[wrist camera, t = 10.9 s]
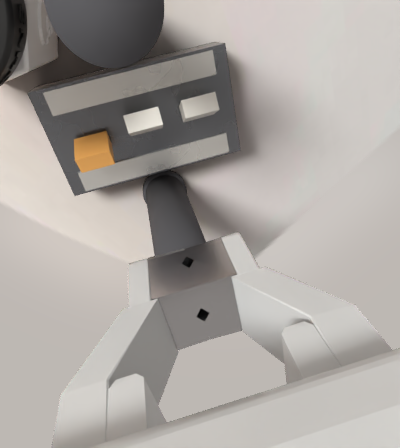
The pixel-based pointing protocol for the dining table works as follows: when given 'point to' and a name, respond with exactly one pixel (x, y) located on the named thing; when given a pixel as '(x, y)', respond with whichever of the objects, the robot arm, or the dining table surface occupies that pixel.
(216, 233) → the dining table surface
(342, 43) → the dining table surface
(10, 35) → the jar
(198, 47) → the breaker panel
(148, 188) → the cord post outer
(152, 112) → the white block
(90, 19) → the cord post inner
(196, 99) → the white block
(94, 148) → the tripped paddle
